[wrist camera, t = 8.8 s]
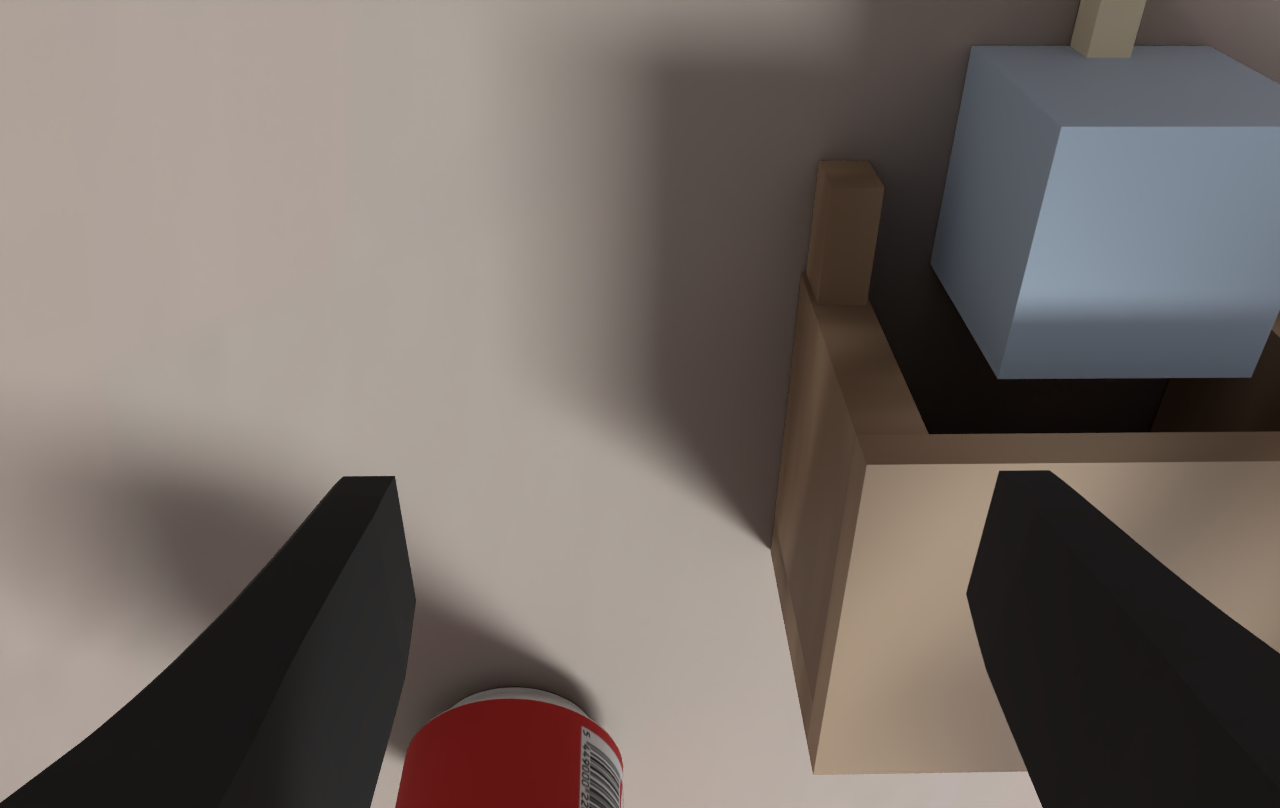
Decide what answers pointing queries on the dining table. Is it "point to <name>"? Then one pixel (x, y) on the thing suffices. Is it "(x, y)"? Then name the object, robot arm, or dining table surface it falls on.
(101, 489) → the dining table surface
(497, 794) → the beverage can
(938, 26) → the dining table surface
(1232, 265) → the tethered block
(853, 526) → the open wooden box
